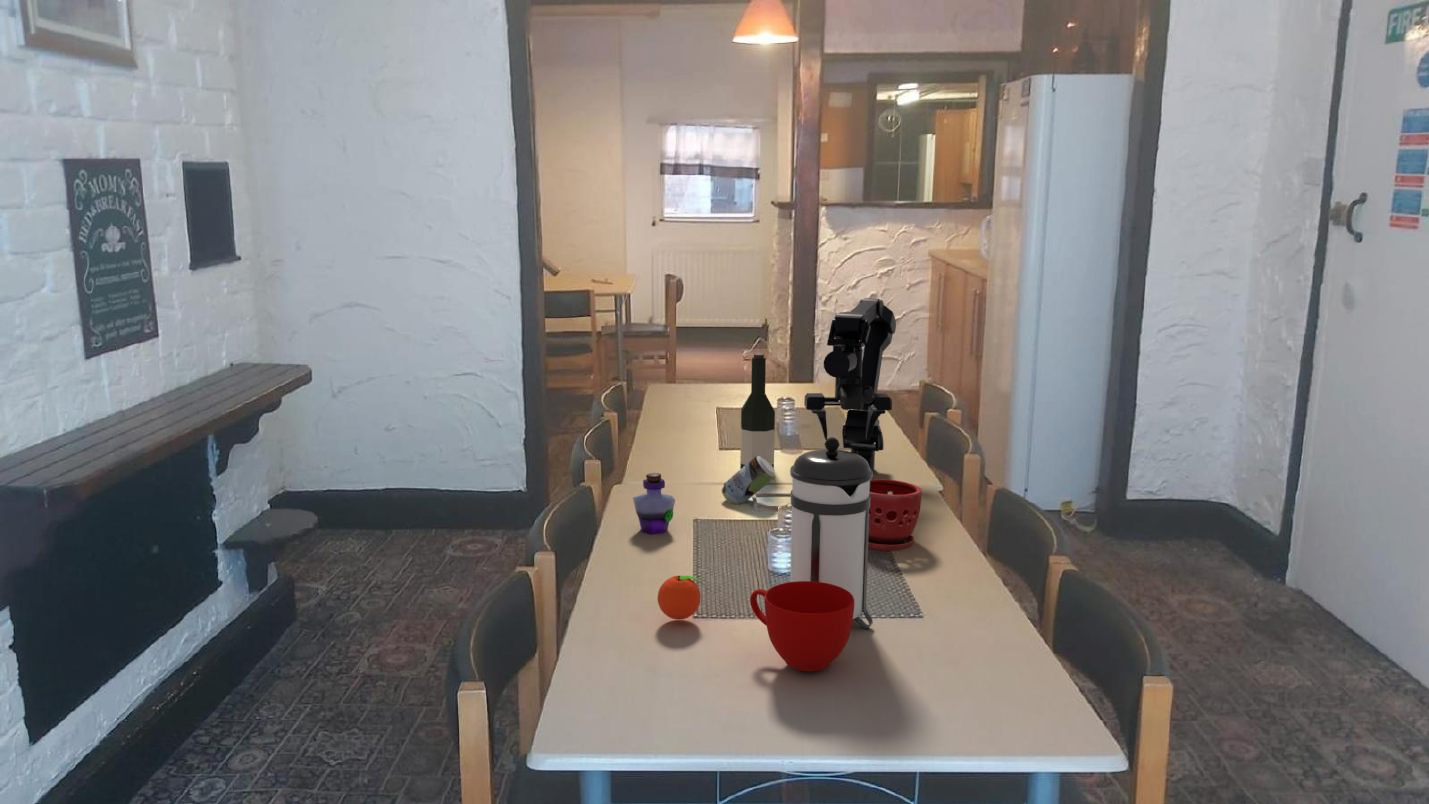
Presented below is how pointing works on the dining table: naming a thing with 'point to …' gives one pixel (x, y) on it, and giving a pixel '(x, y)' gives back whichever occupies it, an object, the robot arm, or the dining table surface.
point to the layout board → (771, 508)
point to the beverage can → (748, 480)
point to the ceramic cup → (806, 621)
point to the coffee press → (832, 521)
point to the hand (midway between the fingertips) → (846, 439)
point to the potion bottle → (654, 506)
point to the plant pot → (892, 514)
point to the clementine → (679, 597)
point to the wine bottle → (757, 418)
